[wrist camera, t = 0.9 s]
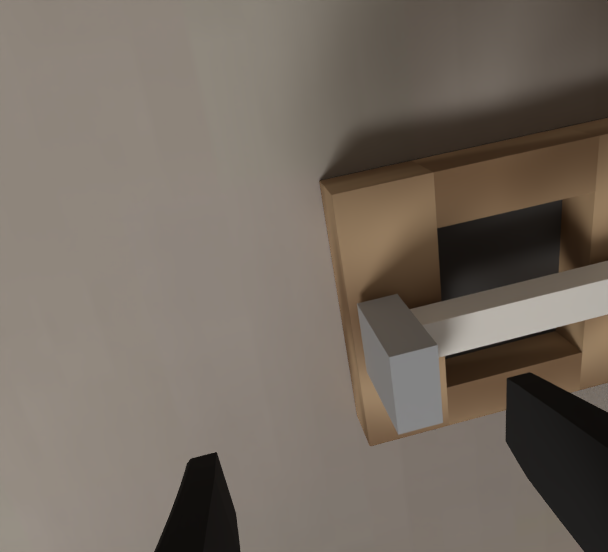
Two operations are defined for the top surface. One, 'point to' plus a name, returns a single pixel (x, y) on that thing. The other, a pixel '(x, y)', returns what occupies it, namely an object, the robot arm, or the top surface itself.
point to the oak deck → (474, 257)
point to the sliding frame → (464, 333)
